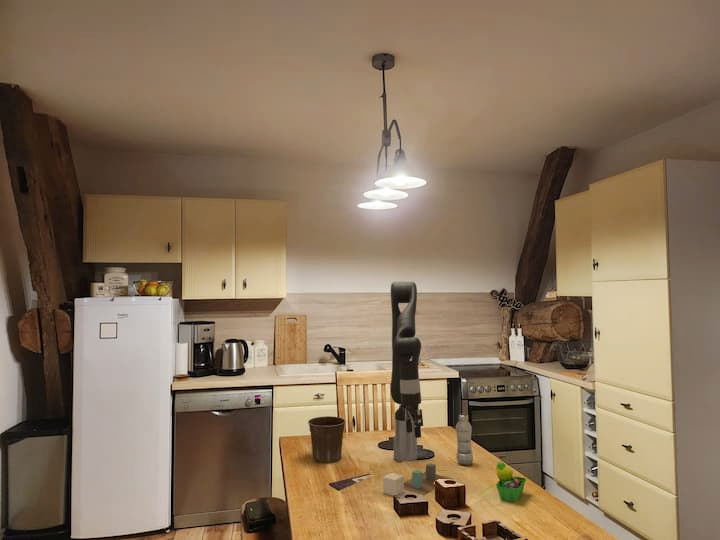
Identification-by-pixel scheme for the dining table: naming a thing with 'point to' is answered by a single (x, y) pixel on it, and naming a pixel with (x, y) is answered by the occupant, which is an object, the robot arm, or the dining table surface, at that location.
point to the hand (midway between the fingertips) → (413, 434)
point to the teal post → (417, 479)
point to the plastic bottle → (464, 440)
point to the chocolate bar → (348, 482)
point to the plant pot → (326, 438)
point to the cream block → (393, 484)
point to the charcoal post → (430, 472)
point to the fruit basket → (509, 483)
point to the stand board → (427, 485)
